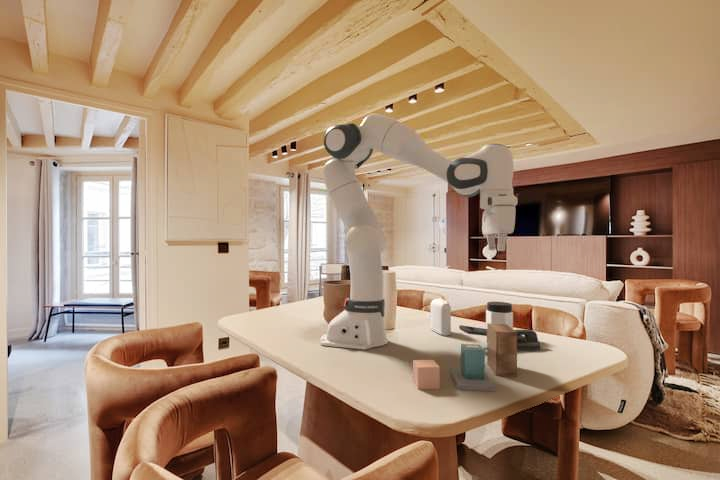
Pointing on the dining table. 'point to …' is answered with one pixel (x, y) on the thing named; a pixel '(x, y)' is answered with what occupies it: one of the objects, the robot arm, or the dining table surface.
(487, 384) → the felt pad
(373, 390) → the dining table surface
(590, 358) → the dining table surface
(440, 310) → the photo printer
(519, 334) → the zipper pull
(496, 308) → the jar
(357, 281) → the robot arm
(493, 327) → the block
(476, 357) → the block
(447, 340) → the dining table surface
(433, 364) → the block
